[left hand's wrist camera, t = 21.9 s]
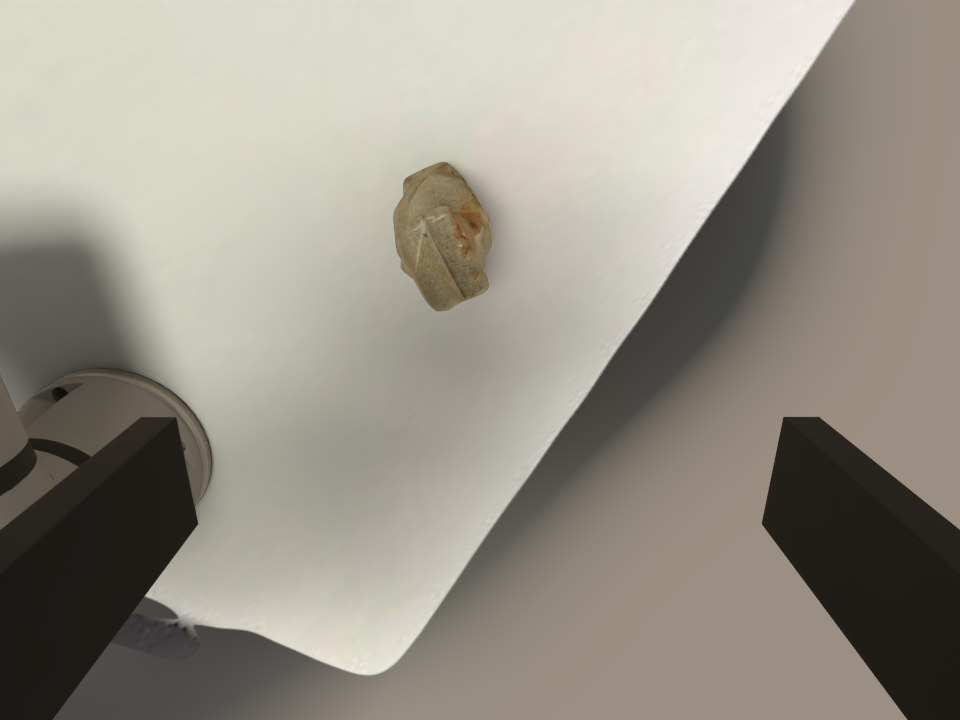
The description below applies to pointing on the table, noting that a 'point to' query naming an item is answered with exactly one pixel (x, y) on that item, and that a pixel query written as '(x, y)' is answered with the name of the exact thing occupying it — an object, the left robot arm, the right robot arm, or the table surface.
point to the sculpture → (442, 236)
